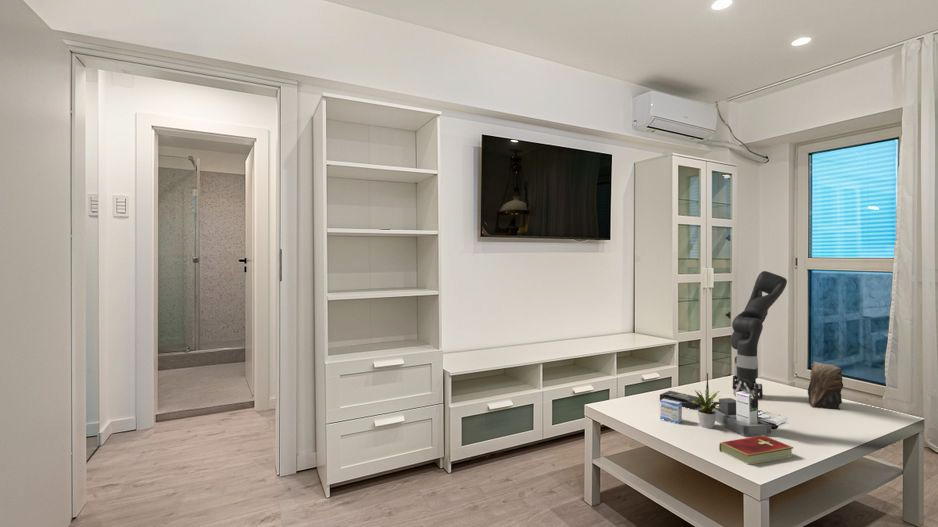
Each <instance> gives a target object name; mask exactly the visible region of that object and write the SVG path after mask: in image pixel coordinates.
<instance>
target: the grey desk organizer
mask: <svg viewBox="0 0 938 527" xmlns="http://www.w3.org/2000/svg"><path fill="white" fill-rule="evenodd" d="M718 402H719V403H721V404H718V406H719V407H721V408H722V410H721V409H720V408H718V407H717V408H718V410H717V409H713V411H715V412H716V418H715V422H717V423H719V424H720V423H721V424H720V425H721V426H725V427H726V428H728V429H730V430H731V431H733V432H735V433H737V434H739V435H740V436H743V437H756V436H762V435H764V436H772V424H770V423H768V422H766V421H764V420H763V419H761V418H758V424H752V425H745V424H743V423H741V422H739V421H737V419H736V399H734V398H732V397H729V398H728V397H726V398H722V397H721V398H718Z"/></svg>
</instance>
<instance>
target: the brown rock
mask: <svg viewBox="0 0 938 527" xmlns="http://www.w3.org/2000/svg"><path fill="white" fill-rule="evenodd" d="M842 370H843V368H842V367H839V366H837V365H835V364H827V363H821V362H819V361H813V362H812V367H811V371H810V372H809V373H810V382H809V384H808V388H807V396H808V401H809V404H810V407H811V408H814V409H824V410H825V409H827V410H841V408H840V405H841V404H842V403H843V400H842V399H843V398H842V390H843V387H844V383H843V375H842Z"/></svg>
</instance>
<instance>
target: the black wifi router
mask: <svg viewBox="0 0 938 527" xmlns="http://www.w3.org/2000/svg"><path fill="white" fill-rule="evenodd" d="M705 386H706V388H705V391H707V389H708V391H707V393H708V397H709V398H710V396H709V395H710V392H709V391H710V390H709V373H708V372H706V385H705ZM697 397H698V398H699V396H697ZM697 397H695V396H694V395H692V394H691V395H690V394H687V393H682V392H678V391H674V390H668V391H665V392H663V393H660V394H659V402H660V401H661V400H662V399H668V400H673V401H678V402H682V408H684V407H685V408H684V409H688V408H689V409H688V410H692V409H693V410H694V409H697V408H700V405H701V403H702V402H701V403H700V401H699V399H700V398H699V399H698V398H697ZM709 398H708V399H709ZM692 401H696V402H697V403H699V404H700V405H697V403H696V404H694V403H692ZM708 403H709V402H708Z"/></svg>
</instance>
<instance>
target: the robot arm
mask: <svg viewBox="0 0 938 527" xmlns="http://www.w3.org/2000/svg"><path fill="white" fill-rule="evenodd" d="M787 285H788V280H787V278H786V277H784V276H781V275H778V274H775V273H773V272H770V271H766V270H763V271H761V272H760V273H759V274H758V276H757V278H756V280H755V282H754V285H753V288H752V290H751V291H752V292H751V294H750V298H749V299H748V302H747V303H746V306H745V308H744V310H743V311H742V312H741V313H739V314H738V315H736V316H735V317H734V318H733V320H732V324H731V326H732V330H733V332H732V335H731V336H730V346H731V348H732V349H734V350H737V355H736V356H735V357H734V375H733V376H732V391H733V392H732V393H733V395H734V397H736V392H740V391H744V390H746V391H748V393H749V394H750V395H751V397H752V399H751V407H752V408H758V409H759V400H763V399H764V397H763V396H764V395H763V384H762V383H757V379H758V377H759V359H758V345H759V341H760V337H761V335H762V333H763V332H762V331H763V327H764V325H763V324H764V322H765V320H766V318H767V316H768V313H769V311H768V310H769V309H770V308H771V307H772V305H774V303H775V302H776V301H778V299H779V297H780V296H781V295H782V294H783V292H784V290H785V288H786V287H787ZM763 293H765V295H763ZM753 394H755V396H754V395H753Z"/></svg>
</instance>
